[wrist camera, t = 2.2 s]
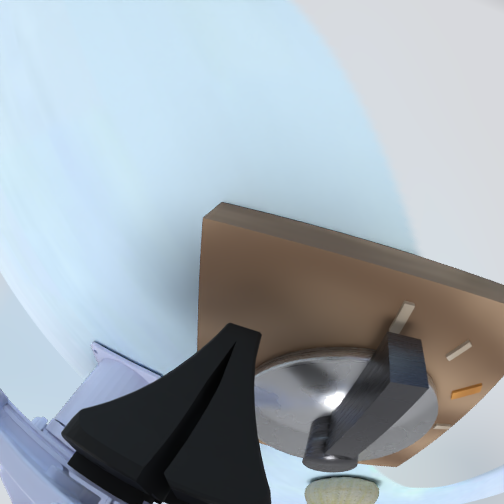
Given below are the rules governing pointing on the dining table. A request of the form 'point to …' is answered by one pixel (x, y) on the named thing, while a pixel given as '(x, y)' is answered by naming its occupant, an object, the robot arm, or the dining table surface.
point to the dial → (345, 402)
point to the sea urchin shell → (341, 491)
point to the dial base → (350, 303)
